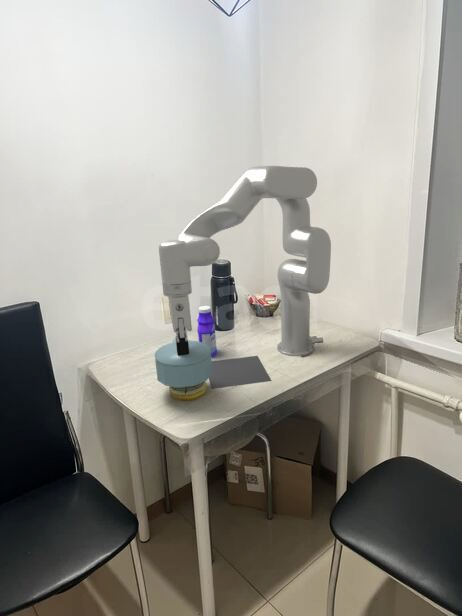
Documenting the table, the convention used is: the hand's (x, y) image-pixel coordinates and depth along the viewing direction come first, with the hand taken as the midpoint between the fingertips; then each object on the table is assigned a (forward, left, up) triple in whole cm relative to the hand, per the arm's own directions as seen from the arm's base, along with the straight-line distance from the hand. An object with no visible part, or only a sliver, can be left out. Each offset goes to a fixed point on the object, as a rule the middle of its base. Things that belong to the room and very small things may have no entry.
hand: (182, 351), depth 114 cm
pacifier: (0, -34, -14) cm, 37 cm away
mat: (-16, -9, -13) cm, 23 cm away
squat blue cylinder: (0, 0, -7) cm, 7 cm away
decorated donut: (0, 0, -14) cm, 14 cm away
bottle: (-9, -24, -14) cm, 29 cm away
